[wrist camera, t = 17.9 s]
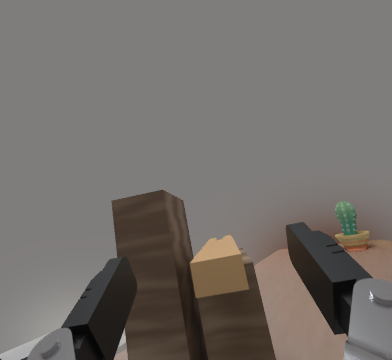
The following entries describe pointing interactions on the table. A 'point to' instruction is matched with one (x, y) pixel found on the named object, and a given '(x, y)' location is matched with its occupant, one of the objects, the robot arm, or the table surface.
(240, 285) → the slotted slat
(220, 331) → the step stand
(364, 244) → the potted cactus
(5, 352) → the table surface
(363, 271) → the robot arm
